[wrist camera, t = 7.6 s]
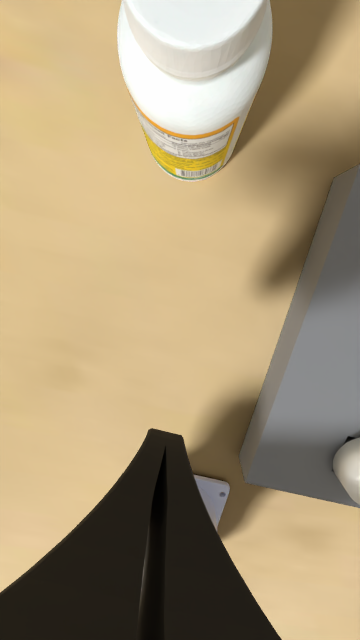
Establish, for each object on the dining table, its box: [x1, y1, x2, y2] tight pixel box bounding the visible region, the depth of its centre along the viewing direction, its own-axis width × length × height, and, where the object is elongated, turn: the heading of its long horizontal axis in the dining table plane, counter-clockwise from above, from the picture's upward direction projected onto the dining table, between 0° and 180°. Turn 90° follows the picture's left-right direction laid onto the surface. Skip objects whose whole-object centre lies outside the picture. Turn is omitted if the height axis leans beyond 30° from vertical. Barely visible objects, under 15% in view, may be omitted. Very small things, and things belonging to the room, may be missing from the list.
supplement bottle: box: [117, 0, 272, 182], centre depth 11 cm, size 5×5×10 cm
